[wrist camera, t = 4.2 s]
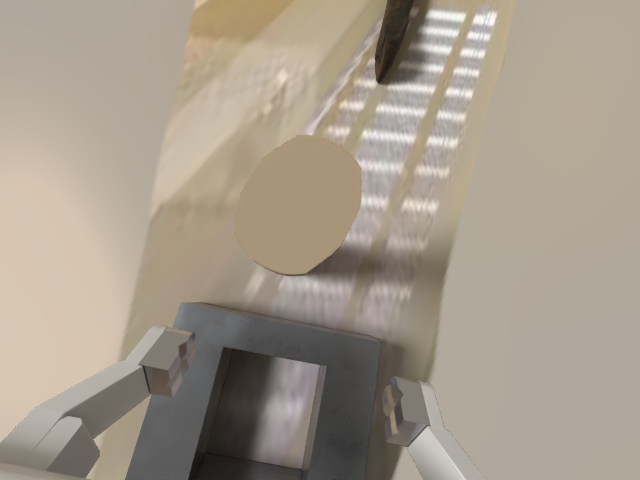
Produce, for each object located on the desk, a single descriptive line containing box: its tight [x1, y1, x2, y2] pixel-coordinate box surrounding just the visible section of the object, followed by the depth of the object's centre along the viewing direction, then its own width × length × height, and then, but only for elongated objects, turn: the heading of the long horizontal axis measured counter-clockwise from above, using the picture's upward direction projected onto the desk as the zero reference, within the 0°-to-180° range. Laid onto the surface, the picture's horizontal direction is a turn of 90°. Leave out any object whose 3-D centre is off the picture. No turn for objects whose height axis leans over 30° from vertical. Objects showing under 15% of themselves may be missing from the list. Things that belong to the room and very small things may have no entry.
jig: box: [125, 302, 382, 480], centre depth 21 cm, size 14×16×4 cm
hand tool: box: [375, 0, 413, 82], centre depth 32 cm, size 19×4×5 cm, turn 163°
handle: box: [235, 135, 361, 276], centre depth 18 cm, size 5×6×15 cm
